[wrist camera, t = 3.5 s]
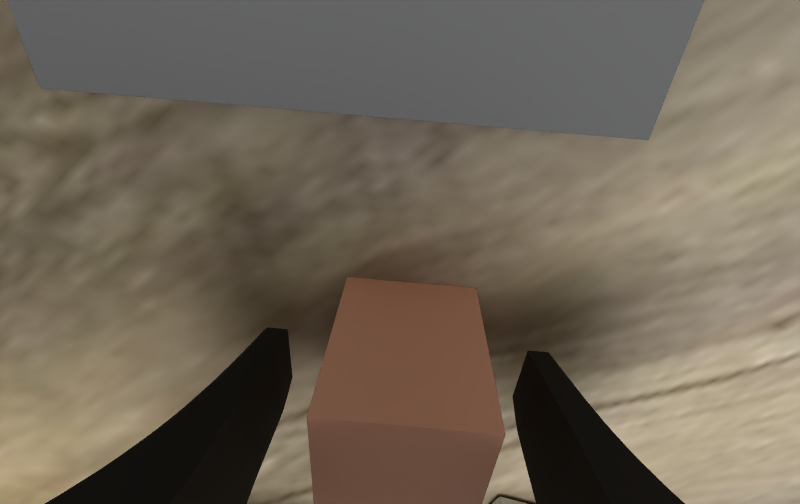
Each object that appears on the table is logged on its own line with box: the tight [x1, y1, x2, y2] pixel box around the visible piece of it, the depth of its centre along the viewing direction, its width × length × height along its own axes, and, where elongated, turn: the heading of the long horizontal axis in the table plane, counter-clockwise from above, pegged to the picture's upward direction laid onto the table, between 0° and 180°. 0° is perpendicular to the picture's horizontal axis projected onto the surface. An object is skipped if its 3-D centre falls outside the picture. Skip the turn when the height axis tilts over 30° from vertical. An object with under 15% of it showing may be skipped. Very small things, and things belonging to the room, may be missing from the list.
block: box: [307, 277, 505, 504], centre depth 11 cm, size 4×4×5 cm
